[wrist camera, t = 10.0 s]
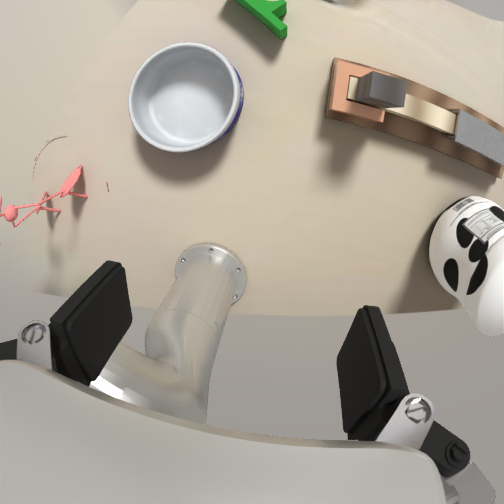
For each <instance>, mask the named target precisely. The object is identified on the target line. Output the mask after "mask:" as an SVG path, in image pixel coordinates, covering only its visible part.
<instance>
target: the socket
mask: <svg viewBox="0 0 504 504" xmlns="http://www.w3.org/2000/svg"><path fill="white" fill-rule="evenodd" d="M372 71H375V72H379V71H376V70H373V69H370V68H366V67H363V66H359V65H355V64H351V63H347V62H343V61H339V60H338V62H337V63H336V64H335V67H334V75H333V82H332V89H331V96H330V103H329V109H328V110H331V111H336V112H340V113H345V114H349V115H353V116H357V117H361V118H364V119H368V120H372V121H375V122H383V119H384V113H385V111H384V110H380V109H377V108H374V107H370V106H366V105H363V104H359V103H355V102H351V101H347V100H346V97H347V90H348V83H349V77H350V76H351V77H355V78H360V77H362V76H364V75H366V74H368V73H370V72H372ZM379 73H382V74H385V75H388V76H390V75H389V74H386V73H383V72H379Z"/></svg>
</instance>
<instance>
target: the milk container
mask: <svg viewBox="0 0 504 504" xmlns="http://www.w3.org/2000/svg"><path fill="white" fill-rule="evenodd" d="M429 258H430V263H431V267H432V269H433V272H434V274H435V276H436V278H437V280H438V281H439V283H440V284H441V286H442V287H443V288H444V289H445V290H446V291H448V292H449V293H450V294H452V295H453V296H455V297H456V298H457V299H458V300H459V301H460V303H461V305H462V306H463V308H464V309H465V311H466V313H467V314H468V315H469V316H470V317H471V319H472V321H473V323H474V325H475V326H476V327H477V328H478V329H479V331H480V332H482V333H483V334H485V335H487V336H498V335H502V334H503V333H504V211H503V210H502V208H501V207H499V206H498V205H497V204H496V203H494V202H492V201H491V200H488V199H486V198H482V197H477V196H469V197H465V198H462V199H459V200H457V201H456V202H454V203H453V204H451V205H450V206H449V207H448V208H447V209H446V210H445V211H444V212H443V214H442V215H441V216H440V218H439V219H438V221H437V223H436V225H435V227H434V230H433V232H432V235H431V239H430V247H429Z"/></svg>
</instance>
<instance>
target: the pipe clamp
mask: <svg viewBox="0 0 504 504" xmlns="http://www.w3.org/2000/svg"><path fill="white" fill-rule="evenodd" d="M235 1H237V2H238V3H239V4H240V5H242V6H243V7H244V8H246V9H247V10H248V11H249V12H251V13H252V14H253V15H254V16H255V17H257V18H258V19H259V20H260V21H261V22H262V23H264V24H265V25H266V26H267V27H268V28H269V29H270V30H271V31H273V32H274V33H275V34H276V35H277V36H278V37H279V38H280V39H283V38H284V37H286V36H287V26H286V25H285V24H284V23H283V22H282V21H281V20H280V19H279V18H280V17H281V16H283V15H284V14H286V13H287V10H286V2H285V1H284V0H279V1H266V0H235Z"/></svg>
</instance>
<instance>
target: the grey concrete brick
mask: <svg viewBox="0 0 504 504" xmlns="http://www.w3.org/2000/svg"><path fill="white" fill-rule="evenodd" d="M446 110H447V111H449V112H451V113H454V114H456V115H457V121H456V127H455V133H454V136H450V135H445V134H442V136H441V138H443V139H446V140H448V141H450V142H453V143H455V144H457V145H459V146H462V147H464V148H466V149H468V150H470V151H472V152H474V153H476V154H478V155H480V156H482V157H484V158H486V159H488V160H490V161H492V162H494V163H496V164H497V165H499V166H501V167H504V134H503V133H501V132H500V131H498V130H497V129H495V128H493V127H492V126H490V125H488V124H487V123H485V122H483V121H481V120H480V119H478V118H476V117H474V116H472V115H470V114H469V113H467V112H465V111H463V110H461V109H446Z"/></svg>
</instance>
